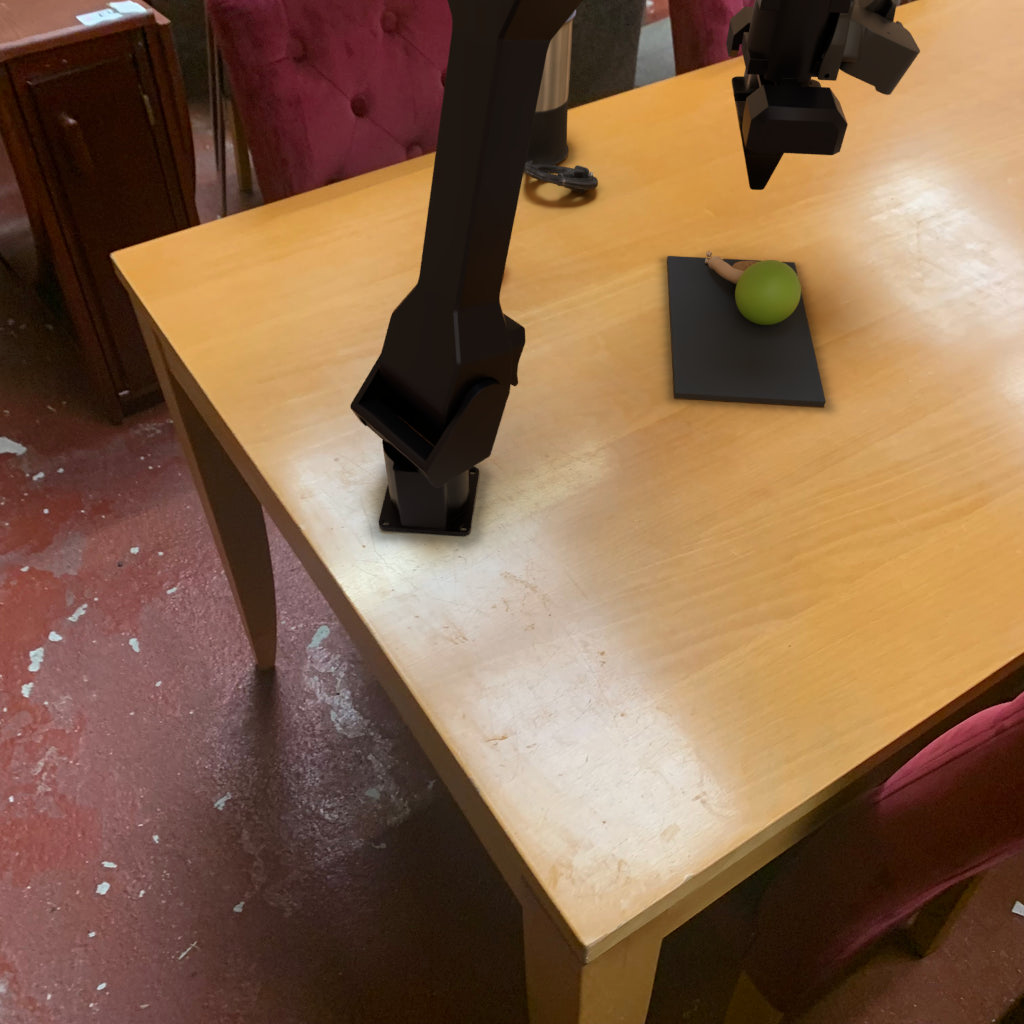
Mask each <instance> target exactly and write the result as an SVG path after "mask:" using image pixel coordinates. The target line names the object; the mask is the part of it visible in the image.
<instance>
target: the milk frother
mask: <svg viewBox="0 0 1024 1024" xmlns="http://www.w3.org/2000/svg"><path fill="white" fill-rule="evenodd" d="M576 15H577V9H576V10H575V11H574V12H573V13H572V15H571V16H570V17H569V18H568V20H567V21H566V22H565V23H564V25H563V26H562V27H561V28H560V30H559V31H558V32H557V33H556V35H555V36H554V37H553V38H552V40H551V41H550V44H549V48H548V51H547V55H546V60H545V65H544V70H543V76H542V81H541V86H540V91H539V96H538V101H537V106H536V111H535V116H534V122H533V127H532V132H531V137H530V142H529V147H528V152H527V157H526V162H525V168H524V173H525V174H526V175H528V176H529V177H531V178H532V179H535V180H537V181H540V182H545V183H549V184H553V185H556V186H558V187H563V188H565V189H568V190H571V191H572V192H575V193H578V194H585V192H586V190H588V191H589V190H595V189H597V187H598V185H599V180H598V178H597V177H596V176H595V175H594V172H593V171H590V170H589V168H588V167H585V166H583V165H579V164H577V165H575V166H574V167H570V166H569V167H568V166H562V165H558V164H560V163H561V162H562V161H564V160H565V159H566V158H568V154H569V150H570V148H569V145H568V111H569V93H570V92H569V91H570V77H571V60H572V58H571V57H572V43H573V41H572V39H573V21H574V19H575V17H576ZM524 173H523V174H524Z"/></svg>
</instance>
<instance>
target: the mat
mask: <svg viewBox="0 0 1024 1024" xmlns="http://www.w3.org/2000/svg"><path fill="white" fill-rule="evenodd" d="M706 258H707V257H701V256H700V257H697V256H678V255H667V259H666V268H667V269H666V270H667V290H668V304H669V305H668V306H669V309H668V310H669V324H670V326H669V327H670V344H671V363H672V364H671V365H672V384H673V398H674V399H680V400H681V399H683V400H698V401H699V400H701V401H717V402H733V403H749V404H765V405H766V404H768V405H783V406H798V407H799V406H800V407H815V408H816V407H817V408H824V407H825V404H826V403H827V402H826V401H827V400H826V397H825V392H824V387H823V384H822V379H821V378H822V377H821V374H820V369H819V365H818V360H817V356H816V351H815V348H814V342H813V338H812V333H811V330H810V325H809V320H808V315H807V311H806V307H805V306H806V305H805V302H804V298H803V293H802V292H801V296H800V300H799V303H798V305H797V307H796V309H795V310H794V312H793V313H792V314H791V315H790V316H789V317H788V318H786V319H785V320H783V321H781V322H779V323H776V324H773V325H759V324H756V323H753V322H751V321H749V320H748V319H746V318H745V317H744V316H743V315H742V314H741V312H740V311H739V309H738V307H737V304H736V300H735V289H736V285H737V284H735V283H732V282H731V281H729V280H726V279H725V278H723V277H721V276H720V275H719V274H718V273H717V272H716V271H715V270H713V269H711V268H710V267H709V265H708V264H706V263H705V259H706ZM708 258H709V259H710V258H711V257H708ZM722 259H723V261H724V262H726V263H728V264H729V265H730V266H731V267H732V266H733V265H734V264H735V263H737V262H740V261H758V262H760V261H761V260H755V259H740V258H739V259H738V258H737V259H736V258H722ZM782 262H783V263H785V264H787V265H788V266H790V267H791V268H792V269H793V270H794V271H795V273H796V274H797V276H798V271H797V266H796V262H795V261H782ZM798 277H799V276H798Z"/></svg>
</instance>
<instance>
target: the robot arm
mask: <svg viewBox="0 0 1024 1024" xmlns="http://www.w3.org/2000/svg"><path fill="white" fill-rule="evenodd" d="M583 1H584V0H447V4H448V8H449V11H450V14H451V34H450V35H451V36H450V43H449V50H448V57H447V66H446V75H445V80H444V87H443V96H442V103H441V104H442V105H441V110H440V118H439V126H438V134H437V140H436V148H435V157H434V163H433V170H432V178H431V186H430V192H429V199H428V200H429V201H428V208H427V215H426V224H425V231H424V236H423V237H424V239H423V246H422V253H421V260H420V267H419V268H420V270H419V275H418V280H417V283H416V285H414V286H413V288H412V289H411V290H409V292H408V293H407V295H406V296H405V297H404V298H403V299H402V300H401V302H399V304H397V306H396V307H395V308H394V310H393V311H392V312H391V315H390V317H389V322H388V326H387V329H386V332H385V337H384V340H383V345H382V349H381V351H380V354H379V356H378V358H376V360H375V362H374V364H373V366H372V367H371V369H370V371H369V373H368V375H367V376H366V377H365V379H364V381H363V383H362V384H361V386H360V388H359V389H358V391H357V393H356V394H355V396H354V397H353V400H352V401H351V403H350V405H349V408H350V410H351V411H352V412H353V414H354V415H355V416H356V418H357V420H359V422H360V423H361V424H362V425H363V426H364V427H368V428H369V429H370V430H371V431H372V432H373V433H374V434H375V435H377V436H378V437H379V438H380V439H381V440H382V441H381V444H382V450H383V458H384V465H385V471H386V478H387V486H386V489H385V493H384V497H383V501H382V506H381V510H380V514H379V518H378V529H379V530H381V531H382V532H390V533H404V534H405V533H406V534H419V535H435V536H449V537H461V538H462V537H464V538H465V537H467V536H470V534H471V531H472V525H473V518H474V512H475V507H476V506H475V505H476V499H477V493H478V486H479V481H480V469H479V468H478V466H477V465H479V464H480V463H482V462H483V461H485V460H486V459H488V458H489V457H490V456H491V455H492V452H493V449H494V445H495V442H496V439H497V435H498V432H499V430H500V425H501V422H502V419H503V415H504V412H505V409H506V407H507V402H508V399H509V396H510V393H511V392H510V391H511V386H513V387H516V386H518V384H519V378H518V377H519V376H518V370H519V363H520V360H521V356H522V354H523V350H524V348H525V345H526V328H525V326H523V325H521V323H519V322H517V321H516V320H514V318H513V319H512V317H510V316H508V315H507V314H505V313H504V312H503V308H502V305H501V299H500V298H501V289H502V284H503V280H504V279H503V278H504V274H505V269H506V265H507V259H508V254H509V249H510V243H511V238H512V234H513V229H514V224H515V223H514V222H515V218H516V214H517V209H518V203H519V197H520V193H521V188H522V182H523V178H524V168H525V162H526V157H527V152H528V147H529V142H530V137H531V132H532V127H533V122H534V116H535V111H536V106H537V101H538V96H539V91H540V86H541V81H542V76H543V70H544V65H545V60H546V55H547V51H548V48H549V44H550V41H551V40H552V38H553V37H554V36H555V35H556V33H557V32H558V31H559V30H560V28H561V27H562V26H563V25H564V23H565V22H566V21H567V20H568V18H569V17H570V16H571V15H572V13H573V12H574V11H575V10H576V11H577V9H578V7H579V6H580V5H581V4H582V2H583ZM896 10H897V3H896V2H895V0H754V4H753V6H743V7H742V8H741V9H740V10H739V11H737V13H735V14H734V15H733V16H732V17H730V20H729V25H728V31H727V37H726V42H725V45H726V51H727V56H728V57H729V58H737V57H738V55H739V51H740V48H741V52H742V58H743V63H744V66H745V67H744V68H745V69H744V73H743V76H740V75H739V76H738V75H737V76H733V77H732V78H731V87H732V94H733V98H734V99H733V100H734V105H735V110H736V111H735V112H736V116H737V117H736V118H737V123H738V127H739V128H738V129H739V135H740V139H741V143H742V151H743V157H744V162H745V163H744V164H745V168H746V174H747V180H748V187H749V189H750V190H752V191H753V190H754V191H763V190H764V189H765V188H766V186H767V185H768V183H769V181H770V180H771V178H772V176H773V174H774V173H775V170H776V169H777V167H778V165H779V163H780V161H781V159H782V158H783V156H784V154H795V155H814V156H815V155H817V156H834V155H836V154H839V153H840V152H841V149H842V146H843V142H844V139H845V136H846V132H847V128H848V125H849V123H848V121H847V118H846V116H845V113H844V110H843V108H842V105H841V102H840V101H839V99H838V97H837V96H836V94H835V93H834V92H833V90H832V89H831V87H827V86H822V83H820V81H833V82H834V81H835V82H836V81H837V78H838V76H839V72H840V71H842V72H843V73H844V74H847V75H848V76H851V77H853V78H855V79H857V80H859V81H861V82H864V83H866V84H868V85H870V86H872V87H874V90H875V91H876V92H877V93H880V94H882V95H886V96H890V95H892V93H893V91H894V90H895V89H896V87H897V86H898V85H899V83H900V81H901V80H902V79H903V77H904V76H905V74H906V73H907V71H908V70H909V69H910V67H911V66H912V64H913V63H914V61H915V60H916V58H917V57H918V56H919V55H920V53H921V49H920V48H919V46H918V44H917V42H916V41H915V38H914V37H913V35H912V33H911V32H910V31H909V30H908V29H907V28H906V27H904V25H903V23H902V21H899V20H896V21H895V17H896V16H895V15H896ZM812 78H817V80H815V79H812Z"/></svg>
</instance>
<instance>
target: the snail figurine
mask: <svg viewBox="0 0 1024 1024" xmlns="http://www.w3.org/2000/svg"><path fill="white" fill-rule="evenodd" d="M705 256H706V257H705V258H706V259H705V263H706V264H708V265H709V267H710V268H711V269H713V270H715V271H716V272H717V273H718V274H719V275H720V276H721V277H723V278H725V279H726V280H729V281H731V282H732V283H735V284H737V285H736V289H735V300H736V304H737V307H738V309H739V311H740V312H741V314H742V315H743V316H744V317H745V318H746V319H748V320H749V321H751V322H753V323H756V324H759V325H773V324H776V323H779V322H781V321H783V320H785V319H786V318H788V317H789V316H790V315H791V314H792V313H793V312H794V310H795V309H796V307H797V305H798V303H799V300H800V296H801V293H802V286H801V281H800V278H799V276H797V275H798V273H797V274H796V273H795V271H794V270H793V269H792V268H791V267H790V266H788V265H787V264H785V263H783V262H784V261H781V260H776V259H764V260H758V261H760V262H758V261H740V262H737V263H735V264H734V265H733V266H732V267H731V266H730V265H729V264H728V263H726V262H724V261H723V259H724V258H722V257H721V256H719V255H713V252H712V251H711V250H707V252H706V255H705ZM709 258H710V259H709Z"/></svg>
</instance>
